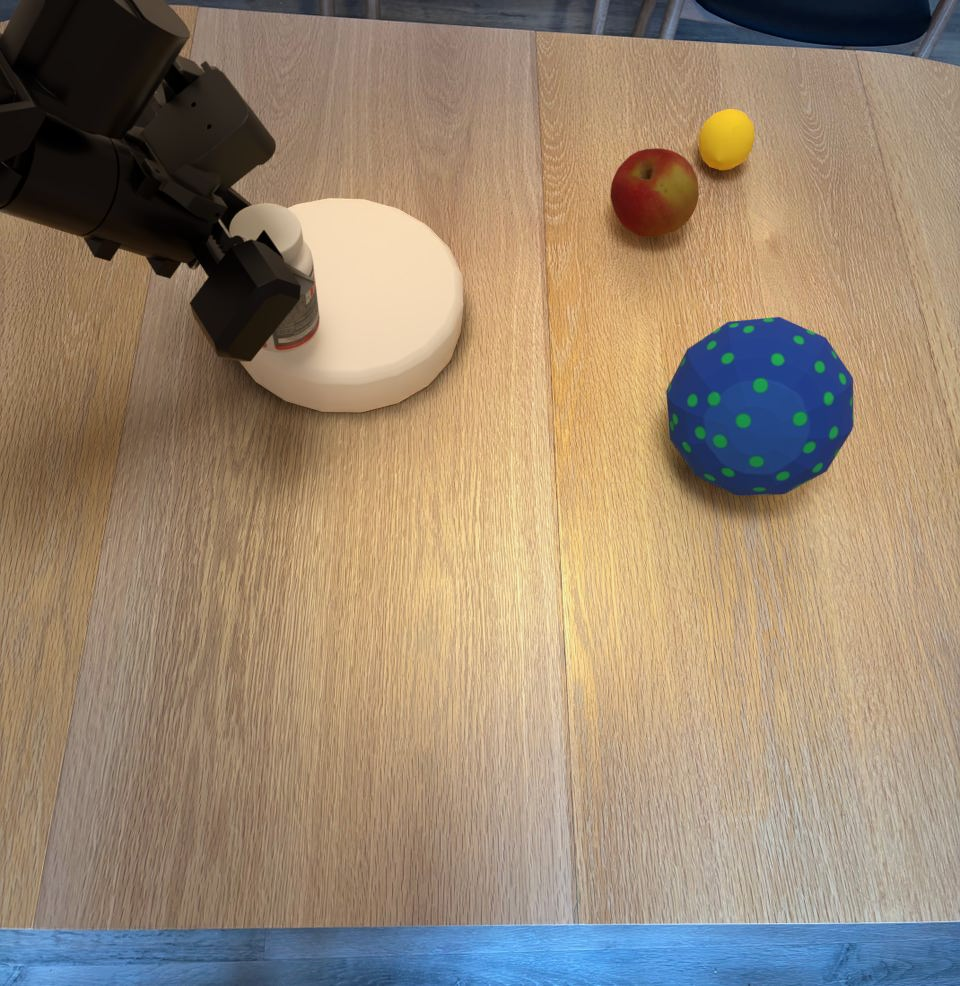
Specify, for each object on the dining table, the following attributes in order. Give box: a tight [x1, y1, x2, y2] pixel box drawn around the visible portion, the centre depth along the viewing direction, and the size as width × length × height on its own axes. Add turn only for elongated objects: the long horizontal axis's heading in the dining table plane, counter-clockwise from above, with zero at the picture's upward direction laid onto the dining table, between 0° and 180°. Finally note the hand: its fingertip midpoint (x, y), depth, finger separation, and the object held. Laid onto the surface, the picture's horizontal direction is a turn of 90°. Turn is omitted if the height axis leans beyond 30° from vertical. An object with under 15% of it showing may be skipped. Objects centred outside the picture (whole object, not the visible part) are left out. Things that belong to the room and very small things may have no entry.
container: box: [239, 197, 464, 413], centre depth 72 cm, size 20×20×5 cm
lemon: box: [698, 108, 756, 171], centre depth 85 cm, size 7×5×5 cm
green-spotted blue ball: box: [665, 316, 855, 497], centre depth 67 cm, size 14×14×15 cm
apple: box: [609, 147, 700, 238], centre depth 79 cm, size 8×8×8 cm
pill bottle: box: [229, 202, 320, 353], centre depth 61 cm, size 6×6×10 cm
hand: (289, 257), depth 60 cm, fingers closed on pill bottle, 6 cm apart
